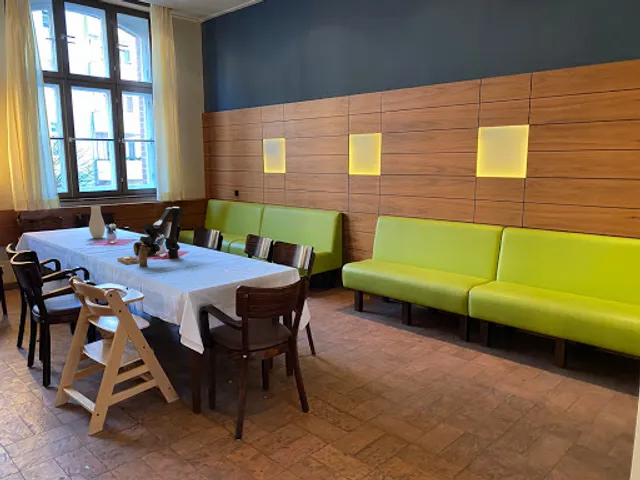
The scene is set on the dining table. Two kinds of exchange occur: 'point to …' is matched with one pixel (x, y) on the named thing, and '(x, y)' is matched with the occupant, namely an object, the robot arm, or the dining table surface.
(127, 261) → the caddy
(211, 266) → the dining table surface
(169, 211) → the robot arm
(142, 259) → the pepper mill
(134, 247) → the bread
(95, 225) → the vase
